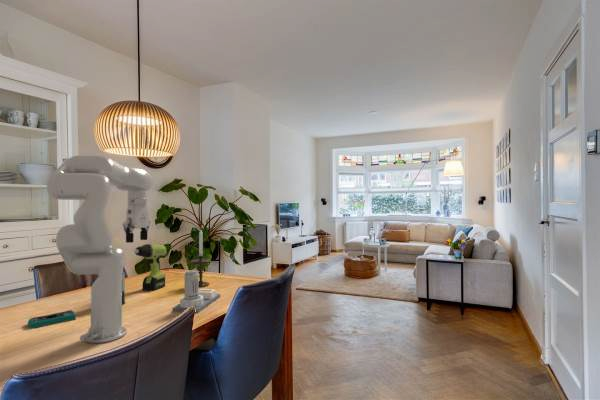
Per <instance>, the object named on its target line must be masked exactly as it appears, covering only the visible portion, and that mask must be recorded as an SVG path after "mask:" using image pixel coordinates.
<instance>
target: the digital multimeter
mask: <svg viewBox="0 0 600 400" xmlns="http://www.w3.org/2000/svg"><path fill="white" fill-rule="evenodd" d="M76 315H77V314H76V312H74V311H73V310H71V309H70V310H66V311H65V310H64V311H61V312H55V313H51V314H46V315H41V316H36V317H35V316H33V317H30V318H29V319H28V320H27V327H28V328H29V329H32V330H33V329H37V328H40V327H44V326H45V327H46V326H51V325H54V324H59V323H65V322H70V321H75V320H76V319H77V318H76V317H77V316H76Z"/></svg>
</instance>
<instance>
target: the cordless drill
mask: <svg viewBox="0 0 600 400" xmlns="http://www.w3.org/2000/svg"><path fill="white" fill-rule="evenodd" d="M133 252H134V253H135V256H138V257H142V258H144V259H146V260H147V264H149V265H150V273H149V274H148V275H146V276H145V277H144V278H143V281H142V291H144V292H145V291H148V292H155V291H157V290H160V289H162V288H165V287H166V273H164V272H162V271H161V264H160V263H161V262H160V258H161V257H165V256H166V255H167V247H166V246H165V245H163V244H154V243H153V244H152V243H151V244H149V243H146V244H143V245H141V246H137V247H136V248H135V250H134V251H133Z"/></svg>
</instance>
